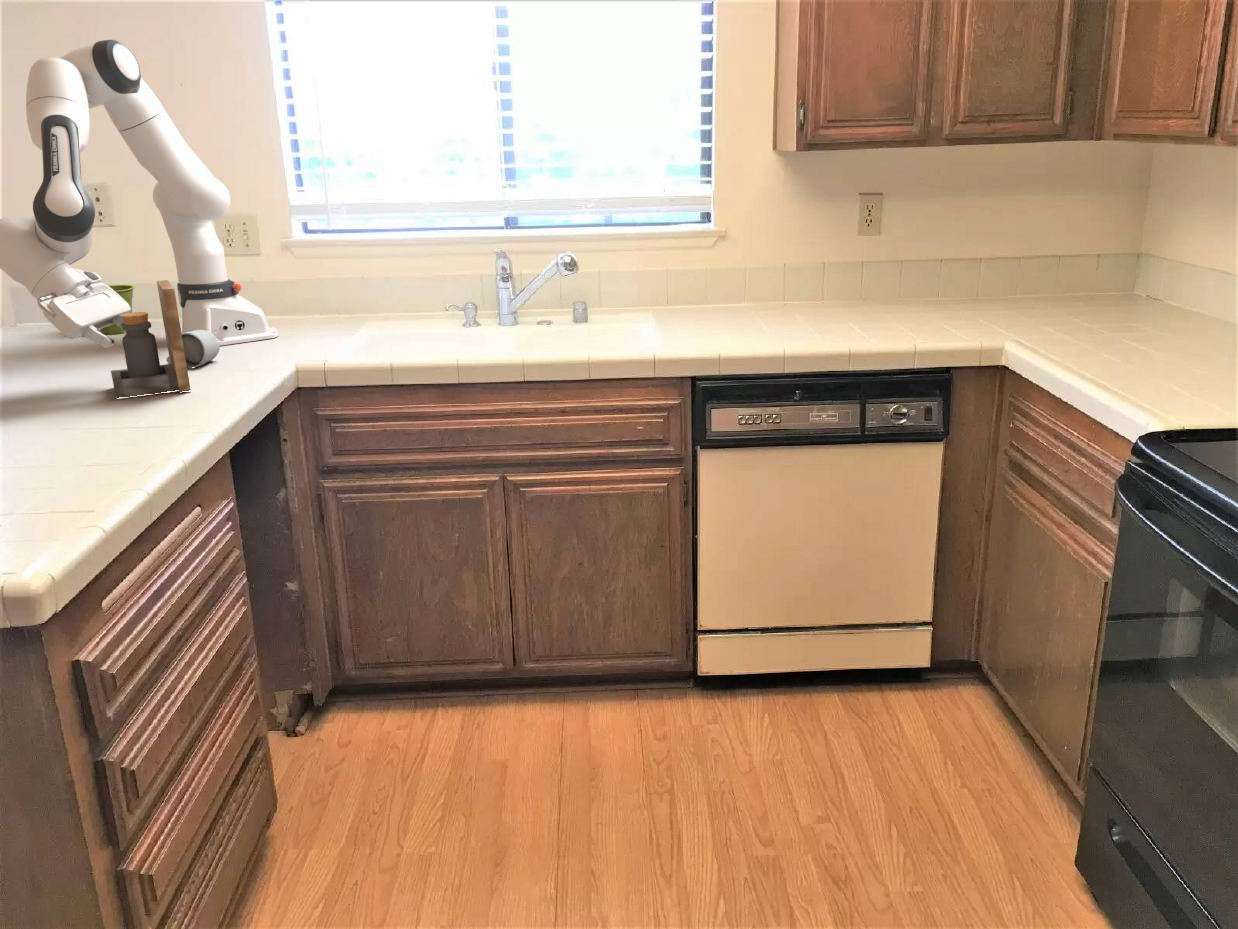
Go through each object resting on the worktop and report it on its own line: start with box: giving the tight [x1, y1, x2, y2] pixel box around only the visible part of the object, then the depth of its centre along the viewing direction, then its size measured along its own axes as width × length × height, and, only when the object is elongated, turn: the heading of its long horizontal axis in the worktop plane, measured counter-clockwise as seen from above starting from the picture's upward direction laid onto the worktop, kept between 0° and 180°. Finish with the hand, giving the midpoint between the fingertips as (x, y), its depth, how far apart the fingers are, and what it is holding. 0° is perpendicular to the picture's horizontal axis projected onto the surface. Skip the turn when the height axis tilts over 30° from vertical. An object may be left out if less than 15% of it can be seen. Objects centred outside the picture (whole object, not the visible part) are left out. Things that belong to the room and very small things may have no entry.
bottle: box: [121, 311, 162, 378], centre depth 195 cm, size 6×6×15 cm
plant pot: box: [99, 284, 135, 335], centre depth 256 cm, size 12×12×11 cm
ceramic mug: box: [165, 330, 220, 369], centre depth 218 cm, size 11×8×8 cm
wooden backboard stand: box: [110, 279, 192, 399], centre depth 195 cm, size 13×14×20 cm
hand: (123, 340), depth 194 cm, fingers open, 8 cm apart
